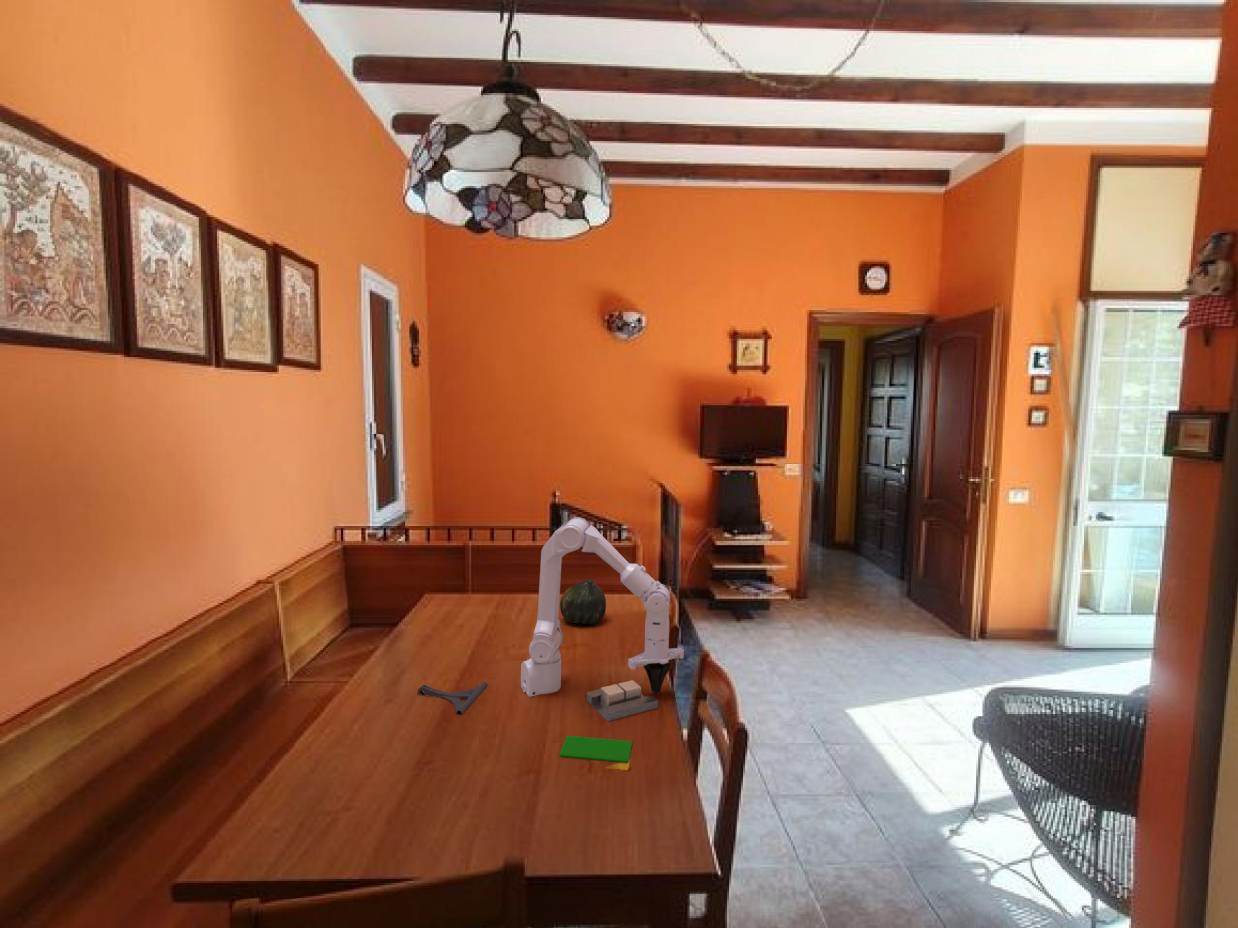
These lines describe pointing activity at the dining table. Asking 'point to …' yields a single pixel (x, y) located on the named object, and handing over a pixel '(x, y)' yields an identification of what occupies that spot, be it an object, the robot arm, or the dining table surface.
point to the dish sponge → (598, 750)
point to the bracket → (456, 696)
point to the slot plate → (621, 705)
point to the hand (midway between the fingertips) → (655, 691)
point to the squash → (583, 603)
